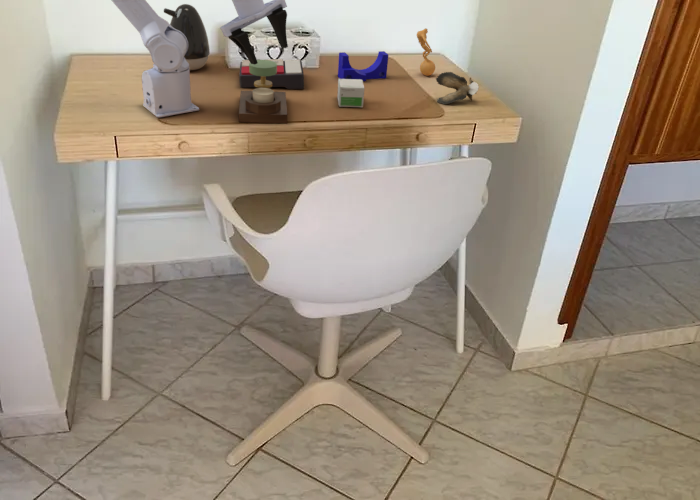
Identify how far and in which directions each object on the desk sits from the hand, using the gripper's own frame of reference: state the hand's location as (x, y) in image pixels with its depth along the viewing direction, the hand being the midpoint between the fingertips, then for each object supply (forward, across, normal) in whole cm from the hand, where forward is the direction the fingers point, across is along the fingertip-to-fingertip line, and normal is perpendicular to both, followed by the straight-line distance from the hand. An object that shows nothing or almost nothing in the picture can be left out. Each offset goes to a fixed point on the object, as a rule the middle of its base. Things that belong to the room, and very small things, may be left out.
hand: (269, 55), depth 140 cm
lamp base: (+11, -5, +3) cm, 12 cm away
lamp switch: (+7, -5, -1) cm, 9 cm away
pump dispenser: (+4, -7, +36) cm, 37 cm away
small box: (+18, +14, 0) cm, 23 cm away
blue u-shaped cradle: (+20, +27, +14) cm, 36 cm away
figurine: (+26, +42, +10) cm, 51 cm away
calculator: (+12, +6, +20) cm, 24 cm away
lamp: (+7, -1, +7) cm, 10 cm away
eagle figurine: (+28, +37, -8) cm, 47 cm away
